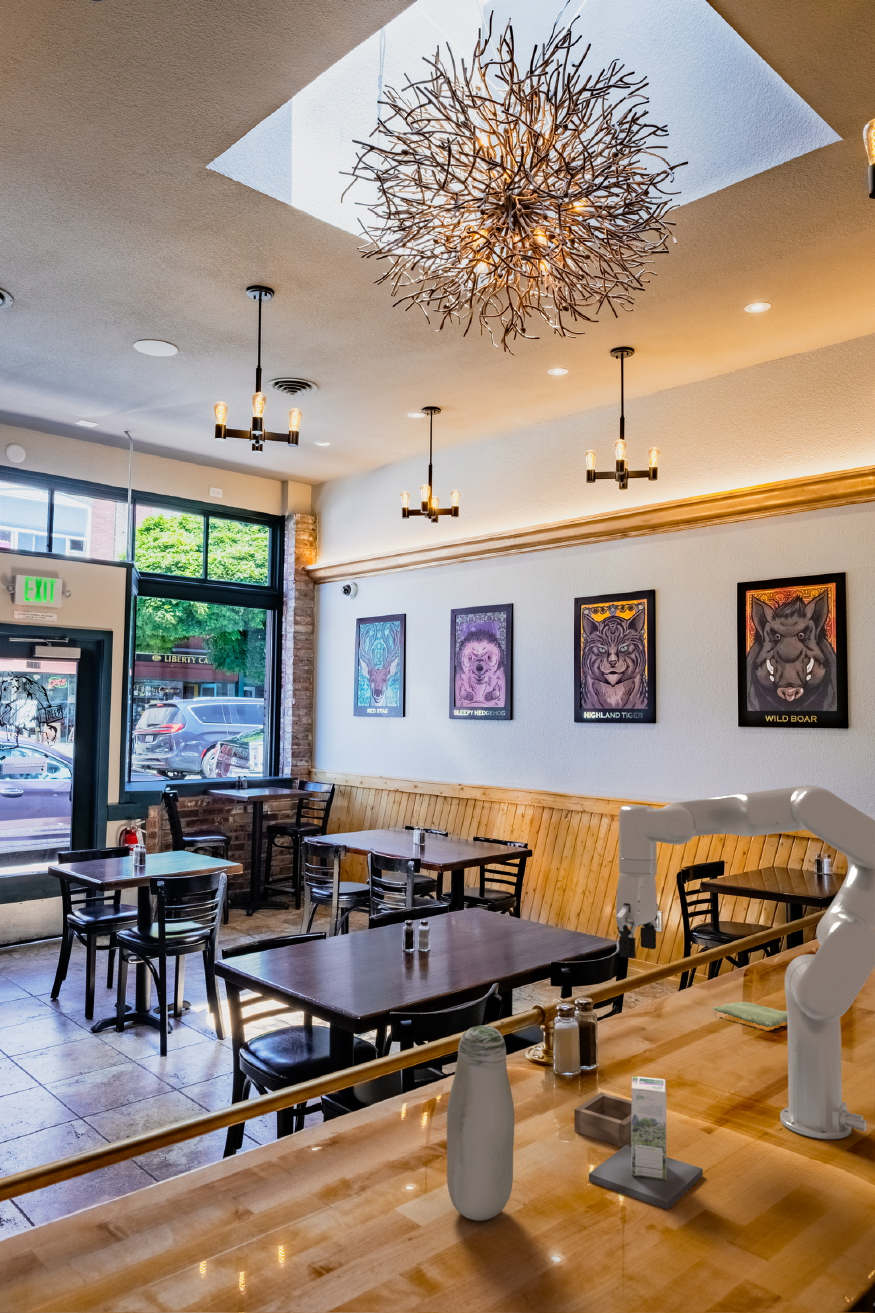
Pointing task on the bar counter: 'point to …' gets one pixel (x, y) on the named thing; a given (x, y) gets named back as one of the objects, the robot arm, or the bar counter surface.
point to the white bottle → (480, 1126)
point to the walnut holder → (605, 1119)
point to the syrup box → (649, 1127)
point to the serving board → (646, 1179)
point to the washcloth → (754, 1013)
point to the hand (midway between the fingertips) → (638, 952)
